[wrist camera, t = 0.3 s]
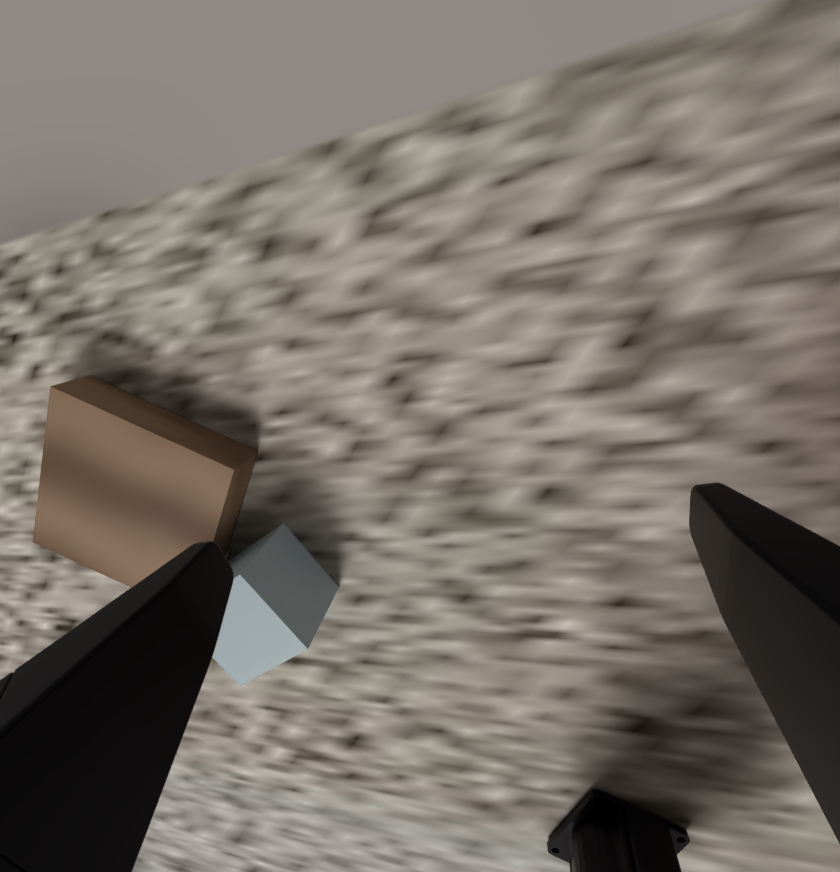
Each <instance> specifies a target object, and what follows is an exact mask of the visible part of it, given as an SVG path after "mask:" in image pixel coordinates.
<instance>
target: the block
mask: <svg viewBox="0 0 840 872" xmlns="http://www.w3.org/2000/svg"><path fill="white" fill-rule="evenodd" d="M228 562H229V564H230V566H231V567H232V570H233V574H234V579H233V585H232V588H231V592H230V596H229V599H228V603H227V607H226V611H225V614H224V618H223V622H222V625H221V629H220V633H219V637H218V640H217V644H216V647H215V650H214V653H213V656H212V657H213V659H214V660H215V661H216V662H217V663H218V664H219V665H220V666H221V667H222V668H223V669H224V670H225V671H226V672H227V673H228V674H229V675H230V676H231V677H232V678H233V679H234V680H235V681H236V682H237V683H238V685H239V686H241V685H243V684H245V683H247V682H248V681H250V680H252V679H254V678H256V677H258V676H259V675H261V674H263V673H265V672H267V671H268V670H270V669H272V668H274V667H276V666H278V665H279V664H281V663H283V662H285V661H287V660H289V659H290V658H292V657H294V656H296V655H298V654H299V653H301V652H303V651H305V650H307V649H308V647H309V645H310V643H311V641H312V639H313V637H314V635H315V634H316V632H317V630H318V628H319V626H320V624H321V622H322V620H323V618H324V616H325V614H326V612H327V610H328V608H329V606H330V604H331V602H332V600H333V598H334V596H335V594H336V592H337V590H338V588H339V587H338V585H337V584H336V583H335V582H334V581H333V580H332V578H331V577H330V576H329V575H328V574H327V573H326V571H325V570H324V569H323V568H322V567H321V566H320V565H319V563H318V562H317V561H316V560H315V559H314V558H313V556H312V555H311V554H310V553H309V552H308V551H307V550H306V548H305V547H304V546H303V545H302V544H301V543H300V541H299V540H298V539H297V538H296V537H295V536H294V535H293V533H292V532H291V531H290V530H289V529H288V528H287V526H286V525H285V524H284V523H283V524H281V525H280V526H278V527H277V528H275V529H274V530H272V531H271V532H269V533H268V534H266V535H265V536H264V537H262V538H261V539H259V540H258V541H256V542H255V543H253V544H252V545H250V546H249V547H247V548H246V549H245V550H243V551H242V552H240V553H239V554H237V555H236V556H234V557H233V558H231V559H230V560H228Z"/></svg>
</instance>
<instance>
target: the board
mask: <svg viewBox="0 0 840 872" xmlns="http://www.w3.org/2000/svg"><path fill="white" fill-rule="evenodd" d="M257 452H258V451H256V450H254V449H251V448H249V447H247V446H245V445H243V444H240V443H238V442H236V441H234V440H232V439H229V438H227V437H225V436H223V435H221V434H218V433H216V432H214V431H212V430H210V429H207V428H205V427H203V426H201V425H199V424H196V423H194V422H192V421H190V420H187V419H185V418H183V417H181V416H179V415H176V414H174V413H172V412H170V411H168V410H165V409H163V408H161V407H159V406H157V405H154V404H152V403H150V402H148V401H146V400H143V399H141V398H139V397H137V396H135V395H132V394H130V393H128V392H126V391H124V390H121V389H119V388H117V387H115V386H112V385H110V384H108V383H106V382H104V381H101V380H99V379H97V378H95V377H93V376H86V377H83V378H79V379H75V380H72V381H68V382H65V383H61V384H57V385H54V386H51V387H50V395H49V404H48V413H47V422H46V431H45V439H44V448H43V457H42V466H41V475H40V484H39V492H38V501H37V510H36V519H35V528H34V536H33V542H34V543H36V544H38V545H40V546H42V547H45V548H47V549H49V550H51V551H53V552H55V553H58V554H60V555H62V556H64V557H66V558H69V559H71V560H73V561H75V562H77V563H79V564H82V565H84V566H86V567H88V568H90V569H93V570H95V571H97V572H99V573H101V574H103V575H106V576H108V577H110V578H112V579H114V580H116V581H119V582H121V583H123V584H125V585H127V586H130V587H133V586H135V585H136V584H137V583H139V582H140V581H142V580H143V579H144V578H146V577H147V576H149V575H150V574H151V573H153V572H154V571H156V570H157V569H159V568H160V567H161V566H163V565H164V564H166V563H167V562H168V561H170V560H171V559H173V558H174V557H176V556H177V555H178V554H180V553H181V552H183V551H184V550H185V549H187V548H188V547H190V546H191V545H193V544H195V543H198V542H207V541H214V542H216V543H217V544H218V545H219V546H220V548H221V550H222V551H223V553H224V555H225V557H226V554H227V551H228V547H229V544H230V541H231V537H232V534H233V531H234V528H235V524H236V521H237V518H238V515H239V511H240V508H241V505H242V501H243V498H244V495H245V492H246V488H247V485H248V482H249V479H250V475H251V472H252V469H253V466H254V462H255V459H256V456H257Z"/></svg>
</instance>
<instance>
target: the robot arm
mask: <svg viewBox="0 0 840 872" xmlns="http://www.w3.org/2000/svg"><path fill="white" fill-rule="evenodd" d="M689 526H690V532H691V536H692V539H693V541H694V544H695V547H696V549H697V552H698V555H699V557H700V560H701V562H702V565H703V568H704V570H705V573H706V576H707V578H708V581H709V584H710V586H711V589H712V592H713V594H714V597H715V600H716V602H717V605H718V607H719V610H720V612H721V615H722V617H723V619H724V621H725V623H726V626H727V628H728V630H729V632H730V634H731V636H732V638H733V639H734V641H735V643H736V645H737V647H738V649H739V651H740V653H741V655H742V657H743V659H744V661H745V663H746V664H747V666H748V668H749V670H750V672H751V674H752V676H753V678H754V680H755V682H756V684H757V686H758V688H759V689H760V691H761V693H762V695H763V697H764V699H765V701H766V703H767V705H768V707H769V709H770V711H771V713H772V714H773V716H774V718H775V720H776V722H777V724H778V726H779V728H780V730H781V732H782V734H783V736H784V738H785V739H786V741H787V743H788V745H789V747H790V749H791V751H792V753H793V755H794V757H795V759H796V761H797V763H798V764H799V766H800V768H801V770H802V772H803V774H804V776H805V778H806V780H807V782H808V784H809V786H810V788H811V789H812V791H813V793H814V795H815V797H816V799H817V801H818V803H819V805H820V807H821V809H822V811H823V813H824V814H825V816H826V818H827V820H828V822H829V824H830V826H831V828H832V830H833V832H834V834H835V836H836V838H837V839H838V841H839V843H840V546H838V545H836V544H834V543H833V542H831V541H829V540H827V539H825V538H823V537H821V536H819V535H818V534H816V533H814V532H812V531H810V530H808V529H806V528H804V527H803V526H801V525H799V524H797V523H795V522H793V521H791V520H789V519H788V518H786V517H784V516H782V515H780V514H778V513H776V512H774V511H773V510H771V509H769V508H767V507H765V506H763V505H761V504H759V503H758V502H756V501H754V500H752V499H750V498H748V497H746V496H744V495H743V494H741V493H739V492H737V491H735V490H733V489H731V488H729V487H728V486H726V485H724V484H721V483H708V484H699V485H695V486H694V487H693V488H692V490H691V497H690V517H689ZM233 579H234V574H233V570H232V567H231V566H230V564H229V562H228V560H227V559H226V557H225V555H224V553H223V551H222V550H221V548H220V546H219V545H218V544H217V543H216V542H214V541H207V542H198V543H195V544H193V545H191V546H190V547H188V548H187V549H185V550H184V551H183V552H181V553H180V554H178V555H177V556H176V557H174V558H173V559H171V560H170V561H168V562H167V563H166V564H164V565H163V566H161V567H160V568H159V569H157V570H156V571H154V572H153V573H151V574H150V575H149V576H147V577H146V578H144V579H143V580H142V581H140V582H139V583H137V584H136V585H135V586H133V587H132V588H130V589H129V590H127V591H126V592H125V593H123V594H122V595H120V596H119V597H118V598H116V599H115V600H113V601H112V602H110V603H109V604H108V605H106V606H105V607H103V608H102V609H101V610H99V611H98V612H96V613H95V614H93V615H92V616H91V617H89V618H88V619H86V620H85V621H84V622H82V623H81V624H79V625H78V626H77V627H75V628H74V629H72V630H71V631H69V632H68V633H67V634H65V635H64V636H62V637H61V638H60V639H58V640H57V641H55V642H54V643H52V644H51V645H50V646H48V647H47V648H45V649H44V650H43V651H41V652H40V653H38V654H37V655H36V656H34V657H33V658H31V659H30V660H28V661H27V662H26V663H24V664H23V665H21V666H20V667H19V668H17V669H16V670H15V672H14V673H10V674H8V675H7V676H6V677H4V678H3V679H1V680H0V872H132V870H133V867H134V865H135V862H136V859H137V857H138V854H139V851H140V849H141V846H142V843H143V841H144V838H145V835H146V833H147V830H148V827H149V825H150V822H151V819H152V817H153V814H154V811H155V809H156V806H157V803H158V801H159V798H160V795H161V793H162V790H163V787H164V785H165V782H166V779H167V777H168V774H169V771H170V769H171V766H172V763H173V761H174V758H175V755H176V753H177V750H178V747H179V745H180V742H181V739H182V737H183V734H184V731H185V729H186V726H187V723H188V721H189V718H190V715H191V713H192V710H193V707H194V705H195V702H196V699H197V697H198V694H199V691H200V689H201V686H202V683H203V681H204V678H205V675H206V673H207V670H208V667H209V665H210V662H211V659H212V656H213V653H214V650H215V647H216V644H217V640H218V637H219V633H220V629H221V625H222V622H223V618H224V614H225V611H226V607H227V603H228V599H229V596H230V592H231V588H232V585H233ZM689 842H690V839H689V836H688V832H687V831H686V830H685V829H683V828H681V827H679V826H677V825H675V824H673V823H670V822H668V821H666V820H664V819H662V818H659V817H657V816H655V815H653V814H651V813H649V812H646V811H644V810H642V809H640V808H638V807H635V806H633V805H631V804H629V803H627V802H625V801H622V800H620V799H618V798H616V797H614V796H611V795H609V794H607V793H605V792H603V791H600V790H593V791H591V792H590V793H589V794H588V795H587V796H586V797H585V799H584V800H583V801H582V802H581V803H580V804H579V805H578V807H577V808H576V809H575V810H574V811H573V812H572V814H571V815H570V816H569V817H568V818H567V819H566V820H565V822H564V823H563V824H562V825H561V826H560V827H559V829H558V830H557V831H556V832H555V833H554V834H553V835H552V837H551V838H550V839H549V840H548V842H547V848H548V852H549V853H550V854H552V855H554V856H556V857H558V858H560V859H562V860H564V861H567V862H569V864H570V872H681V868H680V865H679V861H678V858H677V854H678V853H679V852H680V851H681V850H682V849H683V848H684V847H685V846H686V845H687V844H689Z"/></svg>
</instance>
